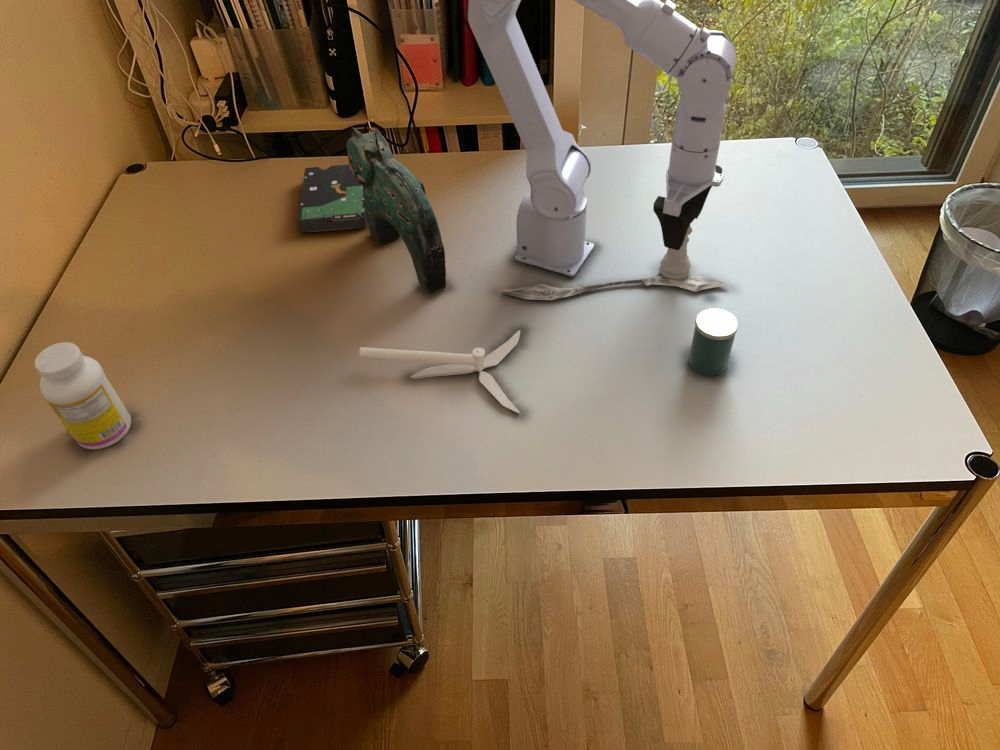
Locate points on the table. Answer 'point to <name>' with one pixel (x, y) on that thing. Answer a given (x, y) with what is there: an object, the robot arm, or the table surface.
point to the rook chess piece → (676, 261)
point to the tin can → (712, 341)
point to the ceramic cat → (397, 206)
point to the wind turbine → (453, 363)
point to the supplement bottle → (82, 396)
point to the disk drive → (331, 200)
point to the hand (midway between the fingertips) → (681, 231)
